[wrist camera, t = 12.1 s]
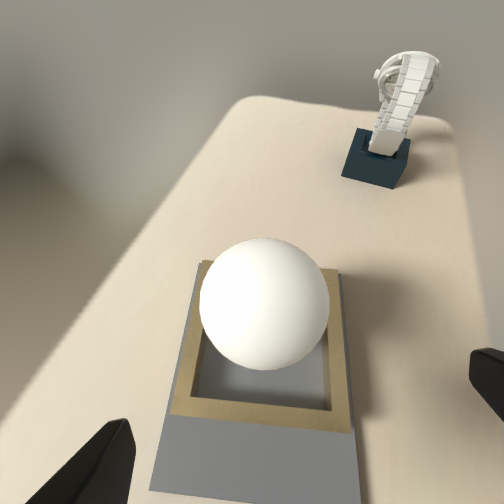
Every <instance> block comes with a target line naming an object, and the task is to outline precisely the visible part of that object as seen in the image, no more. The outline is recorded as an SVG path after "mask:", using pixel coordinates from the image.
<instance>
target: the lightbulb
mask: <svg viewBox="0 0 504 504" xmlns="http://www.w3.org/2000/svg"><path fill="white" fill-rule="evenodd" d="M199 309H200V316H201V321H202V324H203V327H204V329H205V332H206V334H207V336H208V337H209V339H210V340H211V342H212V343H213V345H214V346H215V348H216V349H217V350H218V351H219V352H220V353H221V354H222V355H223V356H225V357H226V358H228V359H229V360H231V361H232V362H234V363H235V364H238V365H241V366H243V367H246V368H249V369H255V370H262V371H263V370H277V369H280V368H284V367H288V366H290V365H292V364H294V363H296V362H298V361H300V360H301V359H302V358H304V357H305V356H306V355H307V354H308V353H310V352H311V351H312V349H313V348H314V347H315V345H316V344H317V343H318V342H319V340H320V339H321V337H322V335H323V333H324V331H325V328H326V326H327V322H328V317H329V293H328V288H327V284H326V282H325V279H324V277H323V275H322V272H321V270H320V269H319V267H318V266H317V265H316V263H315V262H314V261H313V260H312V259H311V258H310V257H309V256H308V255H307V254H306V253H305V252H303V251H302V250H301V249H299V248H298V247H296V246H294V245H292V244H290V243H287V242H285V241H281V240H278V239H271V238H256V239H251V240H246V241H244V242H241V243H239V244H236V245H234V246H232V247H231V248H229V249H227V250H226V251H224V252H223V253H222V254H221V255H220V256H219V257H218V258H217V259H216V260H215V261H214V263H213V264H212V265H211V267H210V268H209V270H208V272H207V274H206V276H205V278H204V280H203V284H202V288H201V291H200V307H199Z"/></svg>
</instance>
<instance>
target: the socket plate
mask: <svg viewBox="0 0 504 504" xmlns="http://www.w3.org/2000/svg"><path fill="white" fill-rule="evenodd" d="M213 263H214V261H208V260H203V261H202V263H199V266H198V271H197V275H196V280H195V284H194V289H193V293H192V298H191V302H190V307H189V311H188V316H187V320H186V325H185V329H184V334H183V338H182V343H181V347H180V352H179V356H178V361H177V365H176V370H175V374H174V379H173V383H172V388H171V392H170V397H169V401H168V406H167V410H166V415H165V419H164V424H163V428H162V433H161V437H160V442H159V446H158V451H157V455H156V460H155V464H154V469H153V473H152V478H151V482H150V487H149V491H157V492H165V493H173V494H181V495H189V496H197V497H205V498H213V499H221V500H229V501H237V502H245V503H253V504H361V496H360V485H359V474H358V463H357V452H356V440H355V429H354V418H353V407H352V396H351V385H350V374H349V363H348V351H347V340H346V329H345V318H344V307H343V296H342V285H341V274H340V273H338V270H332V269H320V270H321V272H322V275H323V277H324V279H325V282H326V284H327V288H328V293H329V317H328V322H327V326H326V328H325V331H324V333H323V335H322V337H321V339H320V340H319V342H318V343H317V344H316V345H315V347H314V348H313V349H312V351H311V352H310V353H308V354H307V355H306V356H305V357H304V358H302V359H301V360H300V361H298V362H296V363H294V364H292V365H290V366H288V367H284V368H280V369H277V370H263V371H262V370H255V369H249V368H246V367H243V366H241V365H238V364H235V363H234V362H232V361H231V360H229V359H228V358H226V357H225V356H223V355H222V354H221V353H220V352H219V351H218V350H217V349H216V348H215V346H214V345H213V343H212V342H211V340H210V339H209V337H208V336H207V334H206V332H205V329H204V327H203V324H202V321H201V316H200V309H199V307H200V291H201V288H202V284H203V280H204V278H205V276H206V274H207V272H208V270H209V268H210V267H211V265H212V264H213Z"/></svg>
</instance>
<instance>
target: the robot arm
mask: <svg viewBox="0 0 504 504" xmlns="http://www.w3.org/2000/svg"><path fill="white" fill-rule="evenodd" d="M469 380H470V382H471V384H472V385H473V387H474V388H475V389H476V390H477V392H478V393H479V394H480V395H481V396H482V397H483V399H484V400H485V401H486V402H487V403H488V404H489V406H490V407H491V408H492V409H493V410H494V411H495V413H496V414H497V415H498V416H499V417H500V418H501V420H502V421H503V422H504V352H502V351H499V350H496V349H493V348H482V349H477V350H474V351H472V353H471V355H470V366H469ZM135 456H136V445H135V441H134V437H133V434H132V431H131V427H130V424H129V422H128V420H127V419H125V418H122V419H117V420H112V421H109V422H107V423H106V424H105V425H104V426H103V427H102V428H101V429H100V430H99V431H98V432H97V433H96V434H95V435H94V436H93V437H92V438H91V439H90V440H89V441H88V442H87V443H86V444H85V445H84V446H83V447H82V448H81V449H80V450H79V451H78V452H77V453H76V454H75V455H74V456H73V457H72V458H71V459H70V460H69V461H68V462H67V463H66V464H65V465H64V466H63V467H62V468H61V469H60V470H58V471H57V472H56V473H55V474H54V475H53V476H52V477H51V478H50V479H49V480H48V481H47V482H46V483H45V484H44V485H43V486H42V487H41V488H40V489H39V490H38V491H37V492H36V493H35V494H34V495H33V496H32V497H31V498H30V499H29V500H28V501H27V502H26V503H25V504H127V501H128V495H129V490H130V484H131V478H132V473H133V467H134V461H135Z"/></svg>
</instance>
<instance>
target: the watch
mask: <svg viewBox="0 0 504 504" xmlns="http://www.w3.org/2000/svg"><path fill="white" fill-rule="evenodd" d="M440 74H441V65H440V63H439V60H438V59H436V58H435V57H434V56H432V55H430V54H428V53H425V52H421V51H420V52H419V51H408V52H403V53H399V54H397V55H394V56H393V57H391V58H390V59H388V60H387V61H386V62H385V63H384V64H383V66H382V68H381V70H379V69H377V70H376V72H375V75H374V79H377V80H378V78H379V80H378V86H379V93H380V94H379V96H380V97H379V100H380V102H382V101H383V103H382V106H381V109H380V112H379V115H378V118H377V121H376V124H375V127H374V130H373V131H369V130H365V129H360V128H357V130H356V133H355V136H354V139H353V142H352V144H351V147H350V150H349V153H348V156H347V159H346V162H345V165H344V168H343V171H342V174H341V176H343V177H347V178H351V179H355V180H358V181H362V182H366V183H370V184H374V185H378V186H382V187H386V188H390V189H393V188H394V186H395V184H396V183H397V181H398V179H399V178H400V176H401V174H402V172H403V171H404V169H405V167H406V165H407V159H408V153H409V147H410V140H411V139H406V138H405V136H406V135H407V129H408V127H409V125H410V123H411V121H412V119H413V117H414V115H415V113H416V111H417V109H418V106H419V104H420V102H421V100H422V98H423V97H425V96H427V95H428V94H429V93H430V92H431V91H432V90H433V89H434V87H435V85H436V83H437V80H438V78H439V77H440ZM409 107H410V108H409ZM382 108H383V109H382ZM384 112H386V113H384ZM409 116H410V117H409ZM379 118H380V119H379Z"/></svg>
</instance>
